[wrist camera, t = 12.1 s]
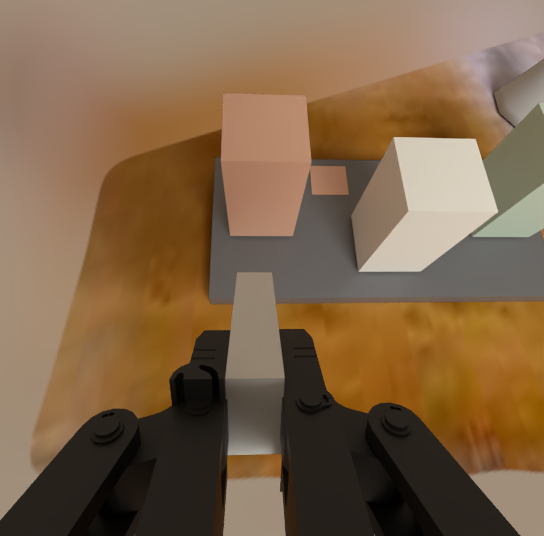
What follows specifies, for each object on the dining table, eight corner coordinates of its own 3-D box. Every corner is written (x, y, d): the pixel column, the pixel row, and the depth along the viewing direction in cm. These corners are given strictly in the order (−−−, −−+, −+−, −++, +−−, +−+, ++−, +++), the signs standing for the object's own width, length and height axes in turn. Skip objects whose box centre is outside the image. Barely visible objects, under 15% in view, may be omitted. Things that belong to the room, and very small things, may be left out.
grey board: (504, 173, 33) (516, 162, 32) (547, 301, 28) (564, 295, 27) (216, 168, 31) (215, 156, 30) (211, 304, 26) (208, 298, 25)
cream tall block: (409, 216, 28) (475, 139, 20) (420, 271, 27) (498, 211, 18) (351, 215, 28) (393, 137, 20) (358, 271, 26) (408, 211, 18)
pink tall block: (289, 184, 29) (305, 95, 21) (292, 236, 27) (311, 162, 19) (231, 183, 29) (223, 93, 20) (230, 235, 27) (220, 160, 18)
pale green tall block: (511, 187, 30) (611, 104, 22) (528, 237, 28) (645, 168, 20) (458, 186, 30) (538, 102, 22) (471, 236, 28) (565, 167, 20)
